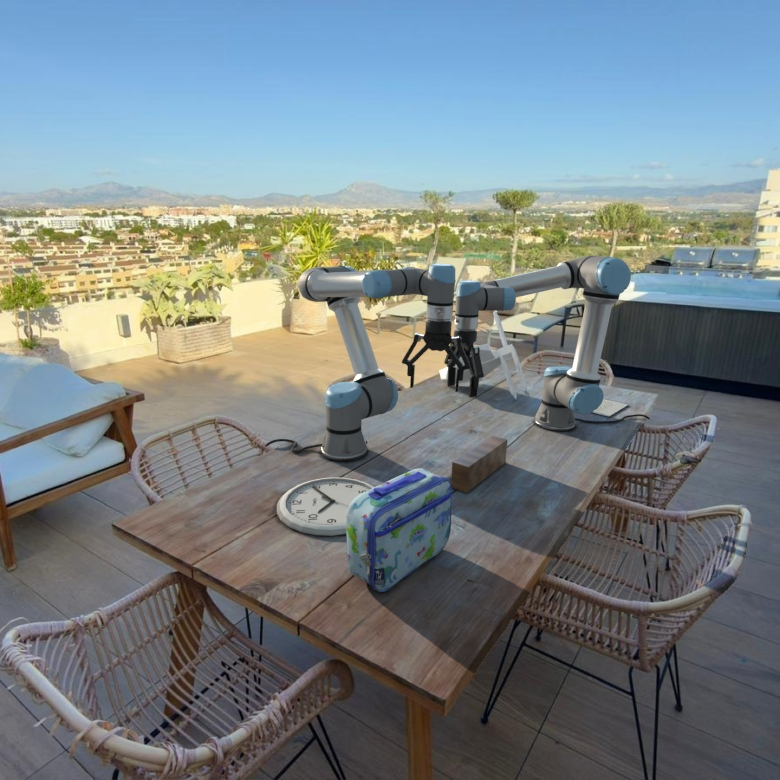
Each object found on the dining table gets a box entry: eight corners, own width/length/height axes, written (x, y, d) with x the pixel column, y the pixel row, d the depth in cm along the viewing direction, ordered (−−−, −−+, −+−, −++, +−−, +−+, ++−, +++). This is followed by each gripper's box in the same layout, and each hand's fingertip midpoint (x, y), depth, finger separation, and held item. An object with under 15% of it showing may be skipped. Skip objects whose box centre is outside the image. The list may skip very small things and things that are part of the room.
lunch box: (374, 604, 105) (375, 512, 99) (340, 579, 113) (339, 492, 106) (455, 552, 123) (460, 471, 117) (421, 533, 130) (424, 456, 124)
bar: (490, 458, 174) (492, 435, 171) (505, 462, 171) (507, 439, 168) (450, 487, 154) (452, 462, 151) (466, 492, 151) (468, 467, 148)
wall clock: (392, 527, 129) (268, 531, 127) (391, 533, 130) (269, 537, 127) (383, 473, 158) (282, 475, 155) (383, 478, 158) (282, 480, 156)
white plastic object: (461, 429, 252) (437, 405, 227) (444, 352, 274) (420, 323, 250) (535, 404, 240) (518, 377, 215) (510, 326, 262) (492, 293, 237)
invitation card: (608, 416, 214) (573, 407, 224) (608, 416, 214) (573, 408, 224) (628, 404, 229) (594, 396, 238) (628, 405, 229) (594, 397, 238)
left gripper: (394, 318, 150) (391, 388, 156) (482, 324, 146) (475, 396, 153) (398, 313, 157) (395, 381, 163) (482, 319, 153) (475, 388, 160)
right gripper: (436, 323, 180) (433, 382, 186) (478, 337, 158) (473, 403, 165) (455, 322, 183) (451, 380, 189) (498, 335, 162) (492, 400, 168)
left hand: (434, 388), depth 158 cm, fingers open, 13 cm apart
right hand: (461, 391), depth 177 cm, fingers open, 13 cm apart
